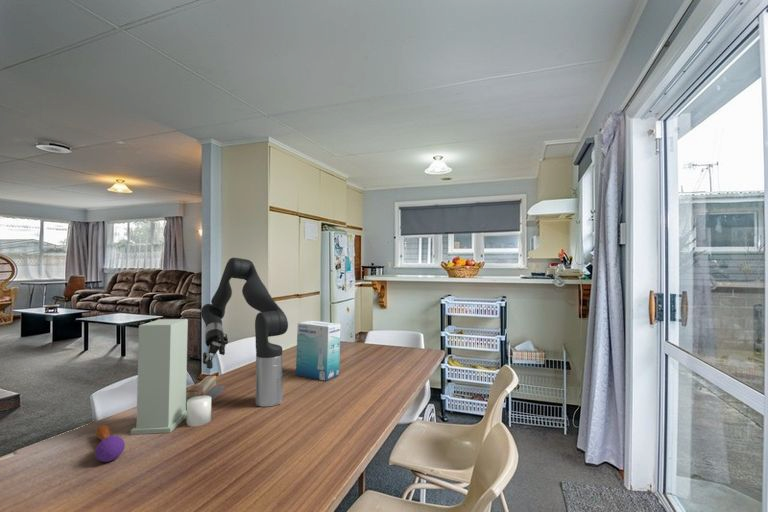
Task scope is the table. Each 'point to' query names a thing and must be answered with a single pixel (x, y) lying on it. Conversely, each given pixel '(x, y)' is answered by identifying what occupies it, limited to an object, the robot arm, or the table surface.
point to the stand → (161, 376)
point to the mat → (213, 392)
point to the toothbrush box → (318, 350)
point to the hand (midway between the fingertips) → (215, 361)
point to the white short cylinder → (198, 410)
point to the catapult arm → (201, 387)
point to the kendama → (108, 445)
